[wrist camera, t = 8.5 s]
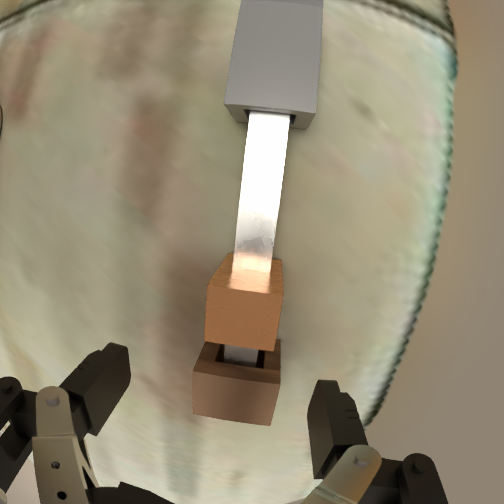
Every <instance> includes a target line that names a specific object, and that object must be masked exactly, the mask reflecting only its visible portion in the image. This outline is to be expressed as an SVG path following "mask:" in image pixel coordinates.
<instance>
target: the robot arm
mask: <svg viewBox="0 0 504 504" xmlns="http://www.w3.org/2000/svg"><path fill="white" fill-rule="evenodd" d="M1 116H2V115H1V108H0V130H1ZM130 379H131V372H130V363H129V354H128V349H127V347H126V346H122V345H119V344H115V343H112V342H110V343H109V344H108V345H107V346H106V347H105V348H104V349H103V350H102V351H100V350H97V351H95V352H93V353H91V354H89V355H88V356H87V357H86V358H85V359H84V360H83V361H82V363H80V364H79V365H78V366H77V368H75V370H74V371H73V372H72V373H71V374H70V375H69V376H68V377H67V378H66V379H65V380H64V381H63V382H62V384H61V385H60V386H59V387H56V386H49V387H45V388H43V389H41V390H40V391H39V392H38V393H37V392H32V391H28V390H23V389H22V386H21V384H20V382H19V380H17V379H16V378H14V377H3V378H0V430H1V429H2V428H3V427H4V425H5V424H6V423H7V422H8V421H9V422H10V425H9V426H8V428H7V429H6V430H5V432H4V433H3V434H2V435H1V437H0V504H7V497H6V492H7V490H8V489H9V487H10V485H11V483H12V482H13V480H14V479H15V477H16V475H17V474H18V472H19V470H20V469H21V467H22V466H23V464H24V462H25V461H26V459H27V458H28V456H29V455H30V453H31V452H32V450H33V458H34V467H35V474H36V481H37V487H38V493H39V498H40V503H41V504H174V503H172V502H170V501H168V500H166V499H164V498H162V497H160V496H158V495H156V494H154V493H152V492H150V491H148V490H145V489H142V488H139V487H136V486H133V485H130V484H127V483H124V482H120V484H119V486H118V488H117V487H99V484H98V482H97V480H96V477H95V475H94V472H93V468H92V465H91V461H90V458H89V454H88V450H87V446H86V442H85V439H84V437H85V435H86V434H87V433H90V434H92V435H94V436H97V435H98V433H99V432H100V430H101V429H102V427H103V425H104V424H105V422H106V421H107V419H108V417H109V416H110V414H111V413H112V411H113V410H114V408H115V406H116V405H117V403H118V402H119V400H120V399H121V397H122V396H123V394H124V392H125V391H126V389H127V388H128V386H129V383H130ZM307 421H308V429H309V438H310V447H311V456H312V465H313V475H314V479H323V481H322V482H321V483H320V484H319V486H318V487H316V488H315V489H314V490H313V491H312V492H311V493H310V494H309V495H308V496H307V497H306V498H305V500H304V501H303V502H302V503H301V504H448V501H447V498H446V495H445V492H444V489H443V486H442V484H441V481H440V478H439V475H438V472H437V470H436V467H435V464H434V462H433V461H432V460H431V458H429V457H428V456H426V455H424V454H420V453H414V454H410V455H409V456H407V457H406V458H405V459H404V460H403V461H397V460H390V459H385V458H382V457H381V456H380V454H379V452H378V451H377V450H375V449H374V448H372V447H370V446H369V445H368V442H367V439H366V436H365V433H364V429H363V426H362V423H361V420H360V419H359V414H358V412H357V407H356V404H355V401H354V400H353V399H352V398H351V397H350V395H349V394H348V393H342V392H340V389H339V386H338V383H337V381H335V380H318V381H317V383H316V386H315V389H314V392H313V395H312V398H311V401H310V404H309V407H308V412H307Z"/></svg>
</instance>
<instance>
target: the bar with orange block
mask: <svg viewBox="0 0 504 504" xmlns="http://www.w3.org/2000/svg"><path fill="white" fill-rule="evenodd" d="M289 118H290V114H287V113H279V112H270V111H260V110H251V111H250V118H249V126H248V134H247V142H246V151H245V159H244V167H243V176H242V184H241V193H240V202H239V211H238V220H237V229H236V238H235V248H234V254H233V253H228V255H227V256H226V258H225V259H224V261H223V262H222V264H221V265H220V267H219V268H218V270H217V271H216V273H215V274H214V276H213V277H212V279H211V280H210V282H209V283H208V285H207V299H206V315H205V334H204V341H208V342H213V343H219V344H225V351H224V363H227V364H233V365H240V366H247V367H254V368H256V361H257V355H258V349H259V350H267V351H274V346H275V341H276V335H277V330H278V324H279V319H280V313H281V307H282V301H283V277H282V260H277V259H272V254H273V246H274V239H275V232H276V224H277V217H278V209H279V201H280V193H281V185H282V177H283V169H284V161H285V153H286V144H287V136H288V127H289Z"/></svg>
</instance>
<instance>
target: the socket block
mask: <svg viewBox="0 0 504 504" xmlns="http://www.w3.org/2000/svg"><path fill="white" fill-rule="evenodd" d="M224 351H225V344H219V343H213V342H208V341H206V342H205V344H204V346H203V349H202V351H201V353H200V355H199V358H198V360H197V362H196V365H195V367H194V369H193V414H197V415H201V416H206V417H212V418H217V419H223V420H229V421H235V422H242V423H249V424H257V425H266V426H270V425H271V421H272V417H273V413H274V409H275V405H276V401H277V397H278V393H279V389H280V340H276V341H275V346H274V351H267V350H259V349H258V355H257V361H256V368H254V367H247V366H240V365H233V364H227V363H224Z"/></svg>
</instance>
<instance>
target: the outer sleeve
mask: <svg viewBox="0 0 504 504" xmlns="http://www.w3.org/2000/svg"><path fill="white" fill-rule="evenodd" d="M322 19H323V0H241V5H240V10H239V15H238V21H237V26H236V31H235V37H234V43H233V49H232V54H231V60H230V67H229V73H228V79H227V86H226V92H225V99H224V105H225V106H226V107H227V109H228V110H229V112H230V113H231V115H232V116H233V118H234V119H235V121H236V122H246V123H249V118H250V111H251V110H260V111H270V112H279V113H287V114H290V118H289V127H291V128H298V129H305V130H307V128H308V126H309V124H310V123H311V121H312V119H313V117H314V116H315V114H316V104H317V93H318V81H319V68H320V54H321V38H322Z"/></svg>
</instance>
